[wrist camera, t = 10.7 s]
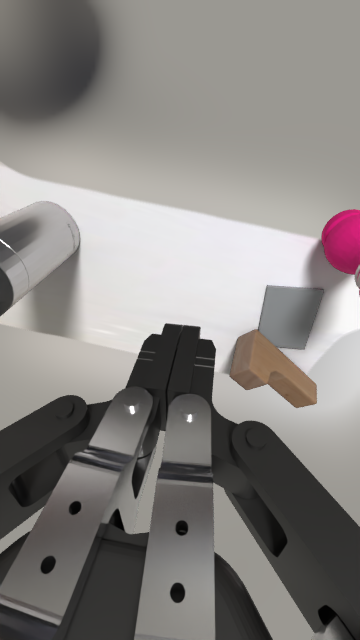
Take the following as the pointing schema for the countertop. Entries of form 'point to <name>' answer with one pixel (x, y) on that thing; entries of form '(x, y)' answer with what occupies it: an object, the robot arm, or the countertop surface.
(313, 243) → the countertop surface
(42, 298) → the countertop surface
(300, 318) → the grey mat
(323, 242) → the pepper mill
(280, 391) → the wooden block
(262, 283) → the countertop surface
